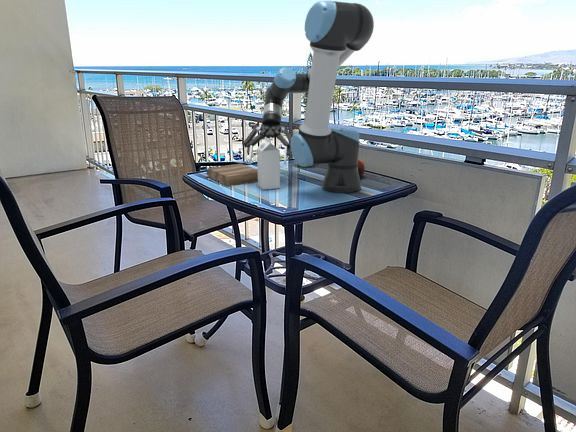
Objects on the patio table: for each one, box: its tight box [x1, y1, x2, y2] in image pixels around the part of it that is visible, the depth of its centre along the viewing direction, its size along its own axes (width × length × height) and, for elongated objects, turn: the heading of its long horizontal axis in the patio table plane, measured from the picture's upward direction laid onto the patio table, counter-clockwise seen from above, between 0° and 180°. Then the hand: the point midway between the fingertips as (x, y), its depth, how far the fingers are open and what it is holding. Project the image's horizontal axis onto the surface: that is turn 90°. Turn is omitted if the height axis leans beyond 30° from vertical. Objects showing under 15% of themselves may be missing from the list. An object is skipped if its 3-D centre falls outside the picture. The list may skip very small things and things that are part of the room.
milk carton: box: [256, 137, 281, 190], centre depth 161 cm, size 7×7×19 cm
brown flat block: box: [206, 163, 258, 187], centre depth 177 cm, size 20×16×4 cm
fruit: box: [358, 158, 366, 178], centre depth 179 cm, size 9×10×10 cm
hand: (267, 161), depth 161 cm, fingers open, 13 cm apart
